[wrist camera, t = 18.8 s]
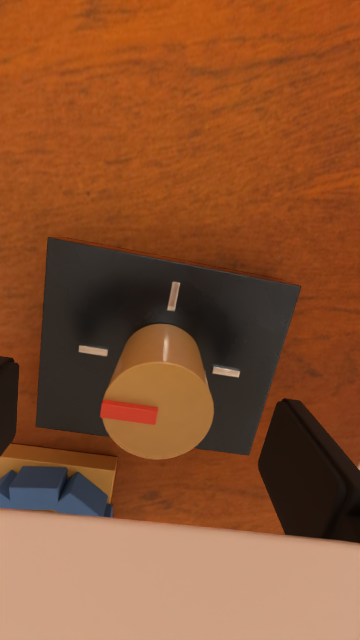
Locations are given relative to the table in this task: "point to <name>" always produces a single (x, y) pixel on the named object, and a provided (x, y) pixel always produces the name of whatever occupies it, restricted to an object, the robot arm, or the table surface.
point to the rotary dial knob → (158, 395)
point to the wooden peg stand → (62, 464)
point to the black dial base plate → (157, 308)
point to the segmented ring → (53, 492)
